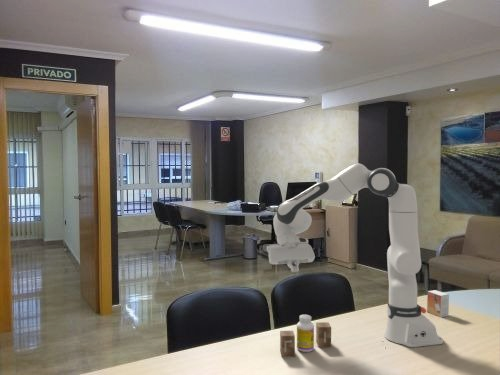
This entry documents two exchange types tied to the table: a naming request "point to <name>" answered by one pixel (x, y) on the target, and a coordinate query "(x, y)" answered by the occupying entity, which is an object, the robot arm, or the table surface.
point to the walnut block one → (323, 334)
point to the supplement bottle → (305, 334)
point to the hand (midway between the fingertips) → (295, 270)
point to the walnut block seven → (287, 344)
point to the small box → (438, 303)
